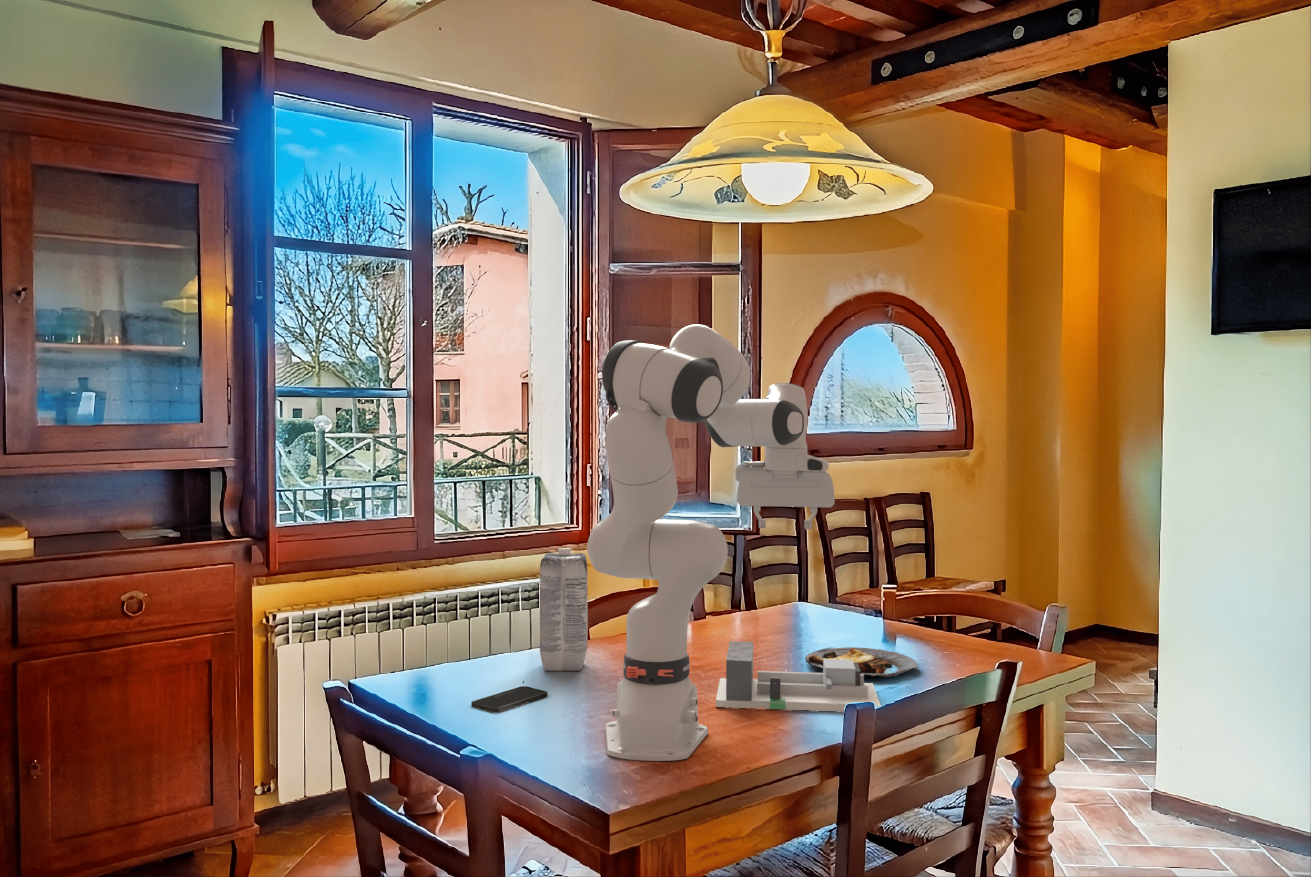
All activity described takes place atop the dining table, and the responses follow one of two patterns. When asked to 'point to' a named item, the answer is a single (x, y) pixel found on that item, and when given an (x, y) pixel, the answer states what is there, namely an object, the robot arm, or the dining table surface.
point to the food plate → (865, 660)
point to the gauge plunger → (840, 673)
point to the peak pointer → (775, 686)
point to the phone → (509, 699)
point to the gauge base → (800, 693)
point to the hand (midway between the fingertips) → (785, 528)
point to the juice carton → (563, 610)
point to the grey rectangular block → (739, 671)
